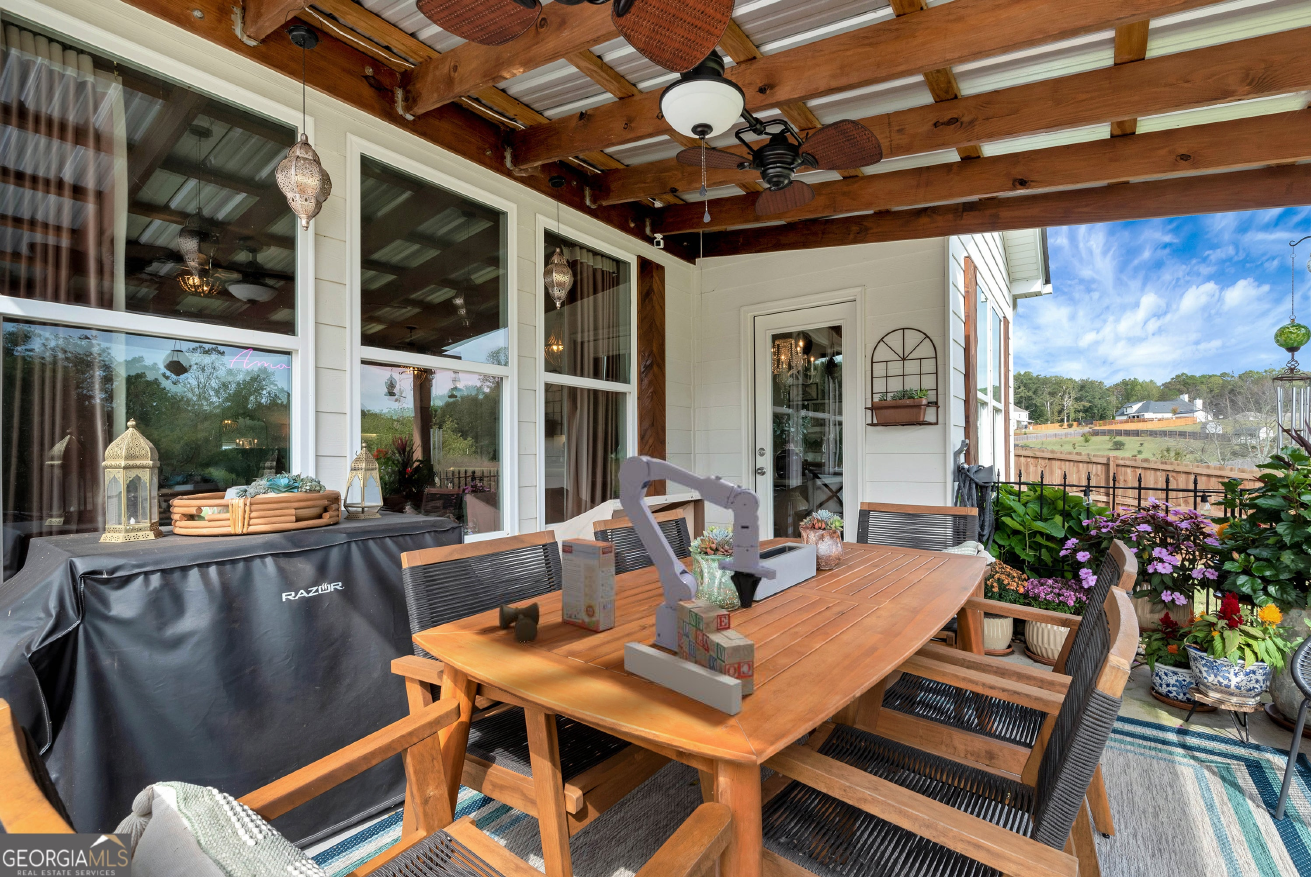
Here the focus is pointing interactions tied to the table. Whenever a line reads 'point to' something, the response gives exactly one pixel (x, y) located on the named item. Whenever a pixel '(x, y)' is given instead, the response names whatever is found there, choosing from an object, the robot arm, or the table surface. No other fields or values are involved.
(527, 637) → the kendama
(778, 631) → the table surface
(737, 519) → the robot arm
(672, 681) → the grey board
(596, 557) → the cracker box
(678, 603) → the stack of blocks
